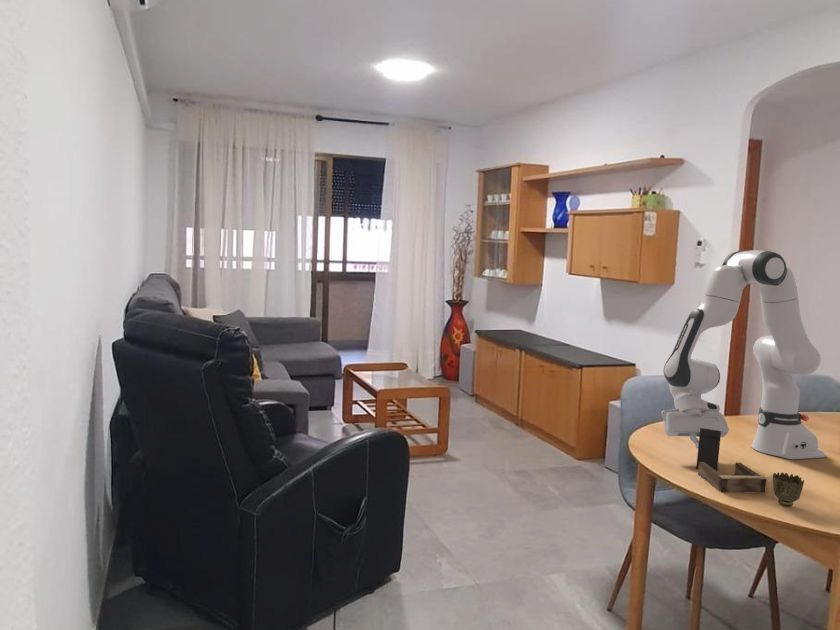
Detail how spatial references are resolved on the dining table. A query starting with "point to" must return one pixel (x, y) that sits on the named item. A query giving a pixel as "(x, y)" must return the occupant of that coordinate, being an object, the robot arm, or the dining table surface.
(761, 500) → the dining table surface
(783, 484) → the cup
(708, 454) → the phone stand
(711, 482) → the frame
